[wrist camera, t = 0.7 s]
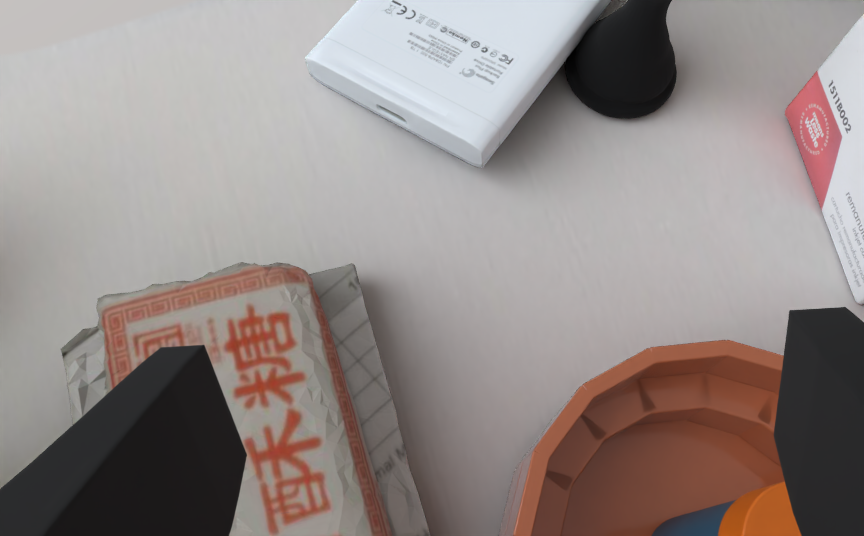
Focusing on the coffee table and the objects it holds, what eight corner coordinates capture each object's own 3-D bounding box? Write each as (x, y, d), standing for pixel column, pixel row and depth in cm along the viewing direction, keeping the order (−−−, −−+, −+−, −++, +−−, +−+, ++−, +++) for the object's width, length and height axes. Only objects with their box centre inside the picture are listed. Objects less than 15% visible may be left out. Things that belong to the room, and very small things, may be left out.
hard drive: (647, -42, 34) (483, 174, 30) (482, -110, 36) (311, 81, 32) (653, -74, 32) (482, 149, 28) (481, -142, 35) (301, 54, 31)
